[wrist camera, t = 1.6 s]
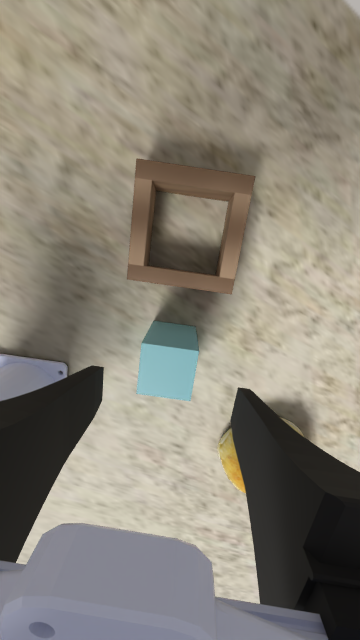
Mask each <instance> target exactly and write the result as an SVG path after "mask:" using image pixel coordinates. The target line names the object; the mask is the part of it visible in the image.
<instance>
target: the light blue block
mask: <svg viewBox="0 0 360 640" xmlns="http://www.w3.org/2000/svg"><path fill="white" fill-rule="evenodd" d="M198 354H199V347H198V340H197V333H196V327H194V326H187V325H180V324H173V323H166V322H159V321H153V323H152V325H151V327H150V329H149V330H148V332H147V334H146V336H145V338H144V340H143V342H142V345H141V354H140V364H139V374H138V384H137V393H136V394H142V395H149V396H157V397H164V398H171V399H178V400H185V401H190V400H191V394H192V389H193V383H194V377H195V371H196V366H197V360H198Z"/></svg>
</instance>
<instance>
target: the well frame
mask: <svg viewBox="0 0 360 640" xmlns="http://www.w3.org/2000/svg"><path fill="white" fill-rule="evenodd" d="M254 180H255V176H250V175H244V174H237V173H230V172H224V171H217V170H210V169H204V168H197V167H190V166H184V165H177V164H170V163H163V162H157V161H150V160H143V159H136V172H135V184H134V197H133V210H132V223H131V235H130V248H129V261H128V273H127V279H129V280H136V281H143V282H150V283H157V284H163V285H170V286H177V287H184V288H191V289H198V290H205V291H212V292H219V293H226V294H232V290H233V285H234V280H235V275H236V270H237V265H238V260H239V255H240V250H241V245H242V240H243V235H244V230H245V225H246V220H247V215H248V210H249V205H250V200H251V195H252V190H253V185H254ZM156 191H161V192H168V193H175V194H181V195H188V196H195V197H202V198H208V199H215V200H222V201H229V202H228V208H227V213H226V219H225V225H224V230H223V236H222V241H221V247H220V253H219V258H218V264H217V270H216V275H212V274H205V273H198V272H191V271H184V270H177V269H170V268H163V267H156V266H149V257H150V247H151V238H152V228H153V218H154V208H155V198H156Z"/></svg>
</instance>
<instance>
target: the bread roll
mask: <svg viewBox="0 0 360 640" xmlns="http://www.w3.org/2000/svg"><path fill="white" fill-rule="evenodd" d="M280 418H281V419H282V420H283V421H285V422H286V423H287V424H288V425H289V426H291V427H292V428H293V429H294V430H295V431H297V432H298V433H299V434H301V435H302V436H303V437H305V436H304V435H303V434H302V432H301V431H300V429H299V428H298V427H297V426H296V425H294V424H293V423H292V422H290V421H288V420H286V419H284V418H282V417H280ZM217 448H218V457H219V458H220V460H222V465H223V468H224V470H225V473H226V474H227V477H228V479H229V480H231V481H232V483H233V484H234V486H235V487H236V488H237V489H238V490H241V491H242V492H244V493H246V491H245V486H244V482H243V478H242V474H241V470H240V466H239V462H238V458H237V454H236V450H235V446H234V442H233V437H232V429H231V428H230V429H229V430H228V431H227V432H226V433H225V434H224V435H223V436H222V438H221V440H220V442H219V444H218V447H217Z"/></svg>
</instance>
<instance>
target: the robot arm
mask: <svg viewBox="0 0 360 640" xmlns="http://www.w3.org/2000/svg"><path fill="white" fill-rule="evenodd" d="M103 370H104V367H99V366H90V367H87V368H85V369H83V370H81V371H79V372H76V373H74V374H72V375H70V376H68V377H67V365H66V364H65V363H63V362H56V361H49V360H42V359H34V358H27V357H20V356H13V355H6V354H0V640H360V472H358V471H356V470H355V469H353V468H351V467H349V466H347V465H346V464H344V463H342V462H341V461H339V460H337V459H336V458H334V457H333V456H331V455H329V454H328V453H326V452H325V451H323V450H322V449H320V448H319V447H317V446H316V445H314V444H313V443H311V442H310V441H309V440H307V439H306V438H305V437H303V436H302V435H301V434H299V433H298V432H297V431H295V430H294V429H293V428H292V427H291V426H289V425H288V424H287V423H286V422H285V421H283V420H282V419H281V418H280V417H279V416H278V415H277V414H276V413H275V412H273V411H272V410H271V409H270V408H269V407H268V406H267V405H266V404H265V403H264V402H263V401H262V400H261V399H260V398H259V397H258V396H257V395H256V394H255V393H254V392H253V391H251V390H250V389H245V388H239V387H238V390H237V395H236V399H235V403H234V408H233V412H232V416H231V429H232V437H233V442H234V446H235V450H236V454H237V458H238V462H239V466H240V470H241V474H242V478H243V482H244V486H245V491H246V496H247V503H248V509H249V516H250V523H251V530H252V537H253V544H254V552H255V561H256V569H257V578H258V587H259V597H260V604H256V603H250V602H244V601H238V600H233V599H227V598H221V597H215V593H214V577H213V570H212V562H211V561H210V560H209V559H208V558H207V557H206V556H205V555H204V554H203V553H202V552H201V551H200V550H199V549H198V548H197V547H196V546H195V545H193V544H190V543H187V542H185V541H182V540H179V539H176V538H170V537H164V536H158V535H152V534H146V533H140V532H134V531H128V530H121V529H115V528H109V527H103V526H97V525H91V524H85V523H67V524H61V525H58V526H57V527H55V528H53V529H51V530H49V531H48V532H46V533H44V534H43V535H42V537H41V539H40V540H39V542H38V544H37V546H36V548H35V550H34V551H33V553H32V555H31V557H30V559H29V561H28V562H27V564H26V565H24V564H18V563H16V561H17V559H18V557H19V554H20V552H21V550H22V548H23V546H24V543H25V541H26V539H27V537H28V535H29V533H30V531H31V529H32V527H33V524H34V522H35V520H36V518H37V516H38V514H39V512H40V510H41V508H42V506H43V504H44V502H45V500H46V498H47V496H48V494H49V492H50V490H51V488H52V486H53V484H54V482H55V480H56V478H57V476H58V475H59V473H60V471H61V469H62V467H63V465H64V463H65V462H66V460H67V458H68V457H69V455H70V454H71V452H72V451H73V449H74V448H75V446H76V444H77V443H78V441H79V440H80V438H81V437H82V435H83V434H84V432H85V431H86V429H87V428H88V426H89V424H90V423H91V421H92V420H93V418H94V416H95V414H96V412H97V410H98V408H99V406H100V404H101V402H102V392H103ZM60 371H62V372H63V374H62V373H61V372H60Z"/></svg>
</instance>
